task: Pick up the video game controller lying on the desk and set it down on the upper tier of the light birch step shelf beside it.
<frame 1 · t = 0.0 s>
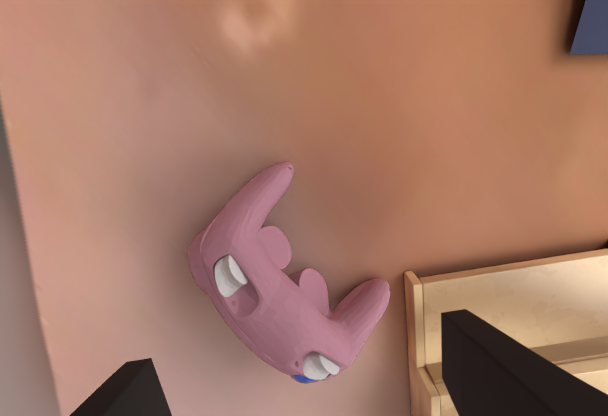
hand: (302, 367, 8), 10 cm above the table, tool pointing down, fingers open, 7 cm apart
video game controller: (297, 251, 19), on the table
step shelf: (504, 349, 22), on the table
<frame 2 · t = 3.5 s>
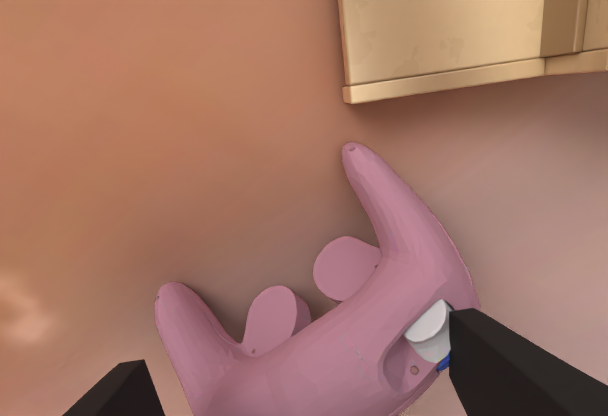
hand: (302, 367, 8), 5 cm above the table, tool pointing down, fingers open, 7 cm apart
video game controller: (300, 263, 14), on the table, touching gripper
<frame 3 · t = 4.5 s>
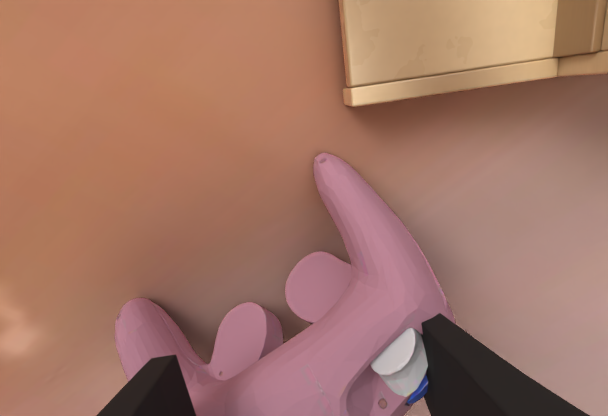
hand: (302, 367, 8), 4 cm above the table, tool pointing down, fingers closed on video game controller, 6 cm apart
video game controller: (274, 278, 13), on the table, touching gripper
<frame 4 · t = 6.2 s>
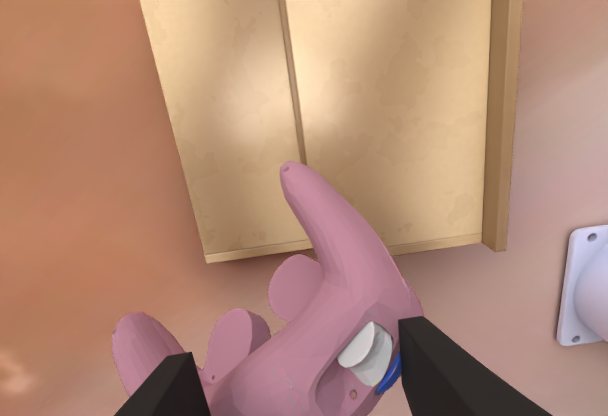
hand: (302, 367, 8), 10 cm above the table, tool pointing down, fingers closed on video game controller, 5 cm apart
video game controller: (260, 283, 13), point 5 cm above the table, touching gripper
step shelf: (321, 117, 17), on the table
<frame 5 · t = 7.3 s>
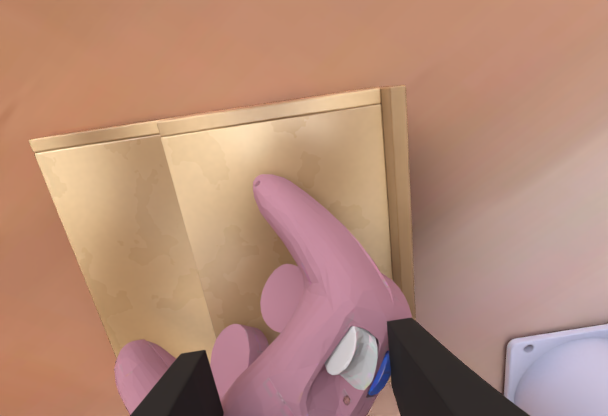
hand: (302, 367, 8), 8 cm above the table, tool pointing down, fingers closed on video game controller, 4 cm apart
video game controller: (254, 296, 14), point 3 cm above the table, touching gripper, step shelf
step shelf: (241, 243, 16), on the table
when the fingers open (8 cm above the table, at t = 7.7 s): video game controller stays where it is, resting on step shelf.
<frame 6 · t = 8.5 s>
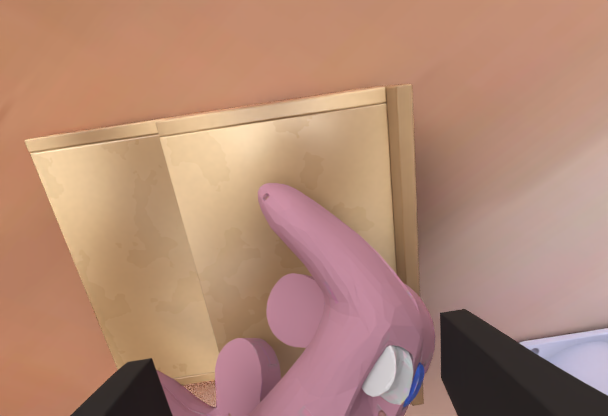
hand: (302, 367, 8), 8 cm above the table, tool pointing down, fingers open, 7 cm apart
video game controller: (255, 306, 13), point 4 cm above the table, touching gripper, step shelf
step shelf: (242, 245, 16), on the table
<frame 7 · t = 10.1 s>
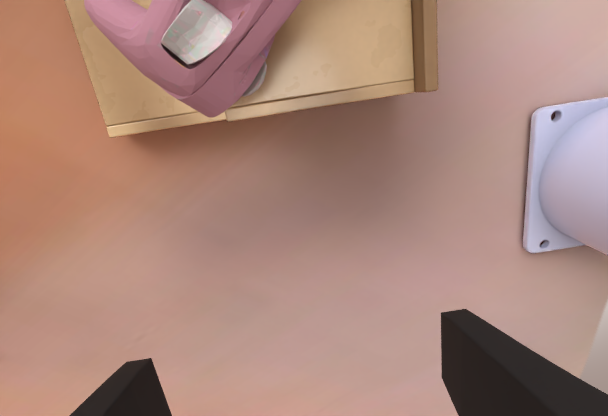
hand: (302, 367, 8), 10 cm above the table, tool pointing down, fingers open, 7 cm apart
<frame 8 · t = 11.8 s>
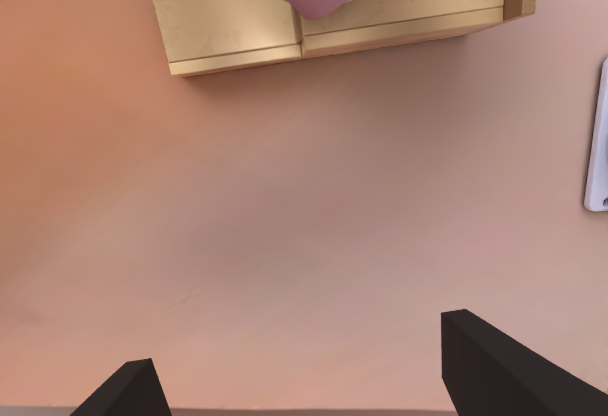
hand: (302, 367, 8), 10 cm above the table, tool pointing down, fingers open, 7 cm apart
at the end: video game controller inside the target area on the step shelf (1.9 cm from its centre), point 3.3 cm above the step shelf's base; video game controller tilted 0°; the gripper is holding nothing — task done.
